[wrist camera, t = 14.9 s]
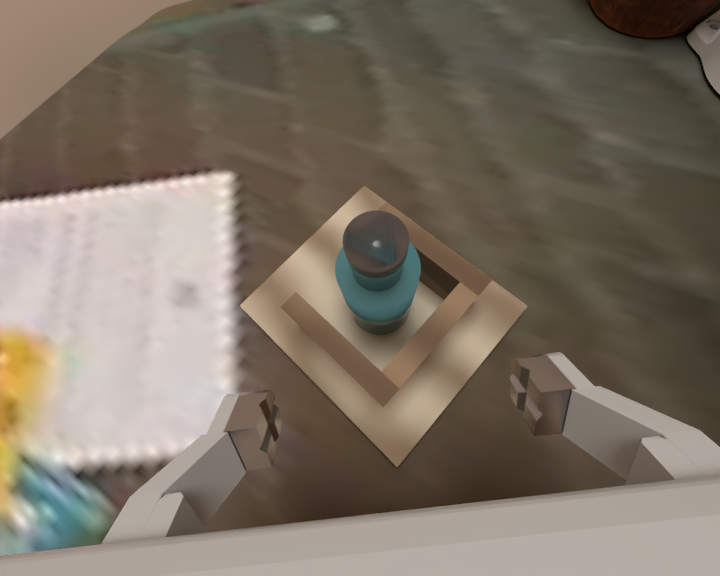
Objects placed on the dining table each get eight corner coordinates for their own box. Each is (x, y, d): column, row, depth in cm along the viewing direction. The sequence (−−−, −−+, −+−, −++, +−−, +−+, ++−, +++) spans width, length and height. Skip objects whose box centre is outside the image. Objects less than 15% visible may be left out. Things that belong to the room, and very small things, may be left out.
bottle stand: (364, 191, 31) (360, 147, 26) (522, 309, 26) (559, 286, 21) (244, 308, 28) (209, 287, 23) (396, 464, 24) (400, 487, 18)
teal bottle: (377, 266, 28) (372, 177, 16) (422, 303, 26) (450, 234, 15) (338, 307, 27) (303, 244, 15) (382, 347, 25) (379, 311, 14)
